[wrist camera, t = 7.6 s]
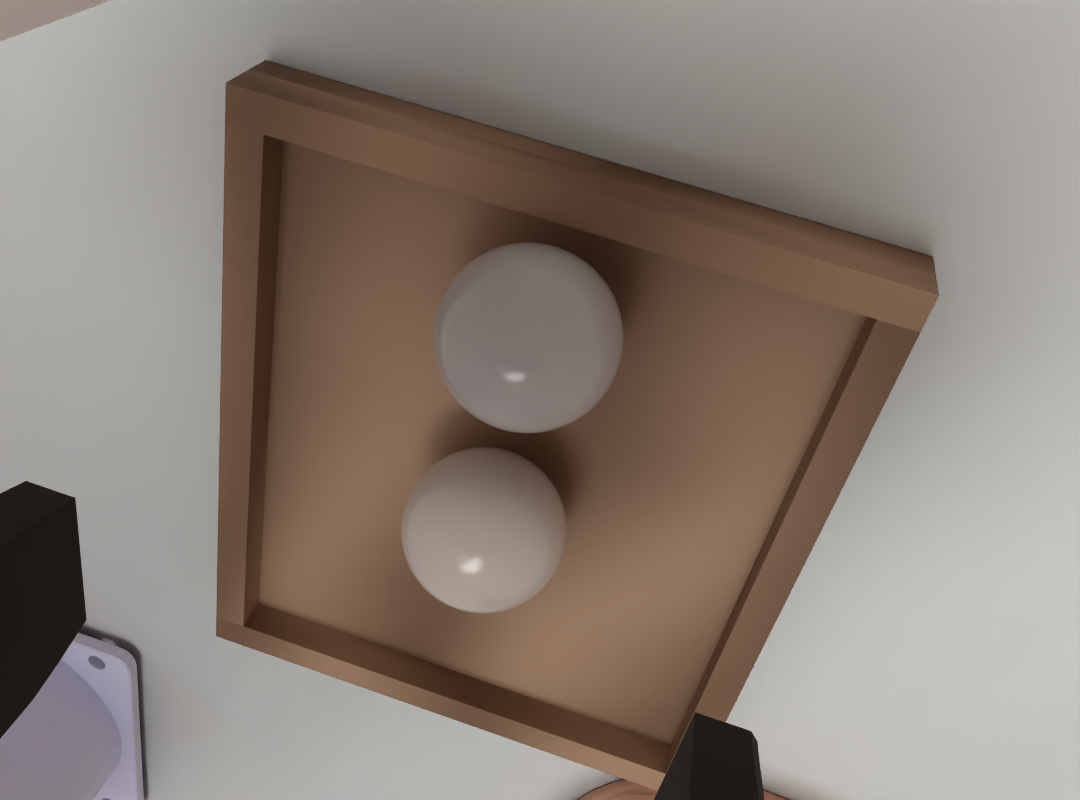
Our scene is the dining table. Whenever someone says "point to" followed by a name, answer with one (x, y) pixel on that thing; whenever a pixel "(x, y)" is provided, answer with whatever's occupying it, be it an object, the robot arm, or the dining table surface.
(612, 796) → the bowl
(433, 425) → the tray
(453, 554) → the white ball
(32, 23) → the can
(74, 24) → the dining table surface
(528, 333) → the pebble
